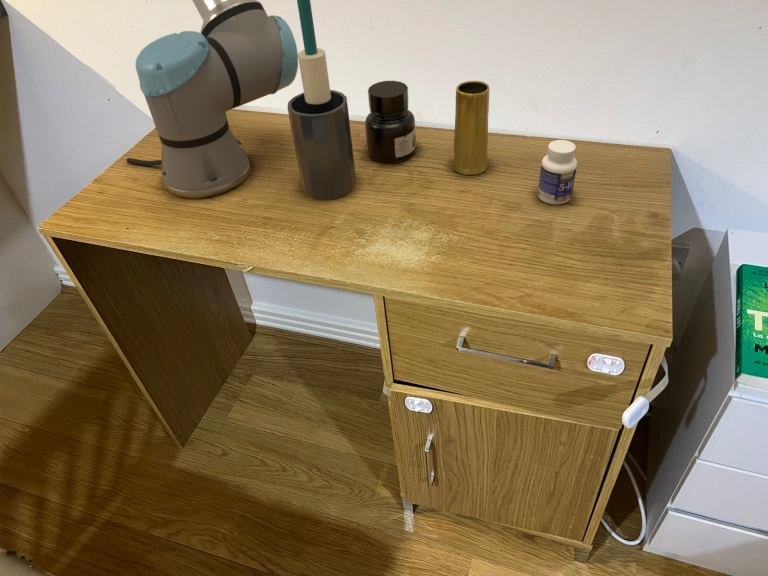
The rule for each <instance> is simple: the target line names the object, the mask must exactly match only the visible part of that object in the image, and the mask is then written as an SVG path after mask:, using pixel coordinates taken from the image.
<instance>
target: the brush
mask: <svg viewBox="0 0 768 576" xmlns="http://www.w3.org/2000/svg"><path fill="white" fill-rule="evenodd" d="M296 3H297V10H298V15H299V23H300V29H301V35H302V41H303V48H304V49H302V50H301V51H299V52H298V67H299V71H300V77H301V78H300V79H301V83H302V89H303V93H304V96H305V101H306V102H307V103H309V104H322V103H325V102H328V101H329V100H330V99H331V93H330V90H331V88H330V87H331V85H330V79H329V78H330V77H329V72H328V71H329V70H328V63H327V56H326V51H325V49H322V48H319V47H318V46H317V39H316V32H315V25H314V16H313V10H312V3H311V0H296Z"/></svg>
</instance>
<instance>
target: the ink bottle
mask: <svg viewBox="0 0 768 576" xmlns="http://www.w3.org/2000/svg"><path fill="white" fill-rule="evenodd" d="M367 96H368V107H369V112H370V113H369V114H368V115H367V116H366V118H365V121H364V127H365V139H366V149H367V154H368V156H369V158H371V159H372V160H374V161H377V162H381V163H399V162H403V161H406V160H408V159H410V158H411V157H412V156H414V154H415V153H416V150H417V137H416V117H415V115H414V114H413V112H412V111H411V110H410V109H409V86H408V85H407V84H406V83H404V82H402V81H398V80H383V81H378V82H376V83H373V84H372V85H370V86H369V87H368V90H367Z"/></svg>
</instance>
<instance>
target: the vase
mask: <svg viewBox="0 0 768 576" xmlns="http://www.w3.org/2000/svg"><path fill="white" fill-rule="evenodd" d="M489 111H490V85H489V84H488V83H486V82H485V81H481V80H466V81H462V82H460V83H459V84H457V86H456V88H455V113H454V136H453V161H452V169H453V170H454V171H455V172H456V173H458V174H460V175H463V176H476V175H480V174H482V173H484V172H485V171H487V169H488V167H489V161H488V160H489V159H488V141H489Z"/></svg>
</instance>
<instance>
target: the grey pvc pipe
mask: <svg viewBox="0 0 768 576" xmlns="http://www.w3.org/2000/svg"><path fill="white" fill-rule="evenodd" d="M330 93H331V99H330V100H329V101H328V102H325V103H322V104H309V103H307V102H306V101H305V96H304V92H301V93H299V94H297V95H295V96H293V97H292V98H291V99H290V100H289V101H288V102H287V113H288V118H289V124H290V128H291V129H290V130H291V135H292V139H293V140H292V141H293V145H294V150H295V151H294V152H295V155H296V161H297V167H298V172H299V177H300V184H301V187H302V190H303V193H304V194H305V195H306V196H308V197H309V198H311V199H314V200H319V201H331V200H332V201H333V200H337V199H341V198H344V197H346V196H348V195H349V194H350V193H352V192H353V191H354V190H355V188H356V186H357V175H356V173H357V172H356V165H355V156H354V148H353V139H352V131H351V122H350V121H351V120H350V114H349V104H348V97H347V96H346V95H345V94H344V93H343V92H341V91H339V90H335V89H330Z"/></svg>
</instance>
